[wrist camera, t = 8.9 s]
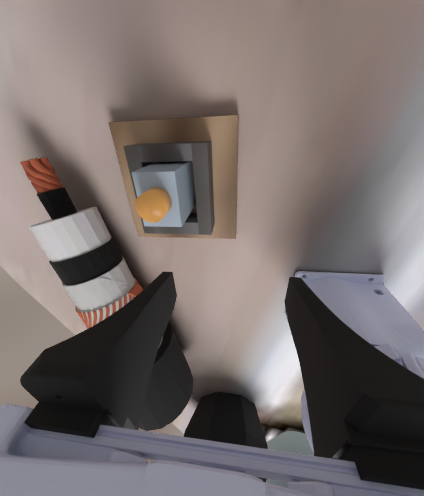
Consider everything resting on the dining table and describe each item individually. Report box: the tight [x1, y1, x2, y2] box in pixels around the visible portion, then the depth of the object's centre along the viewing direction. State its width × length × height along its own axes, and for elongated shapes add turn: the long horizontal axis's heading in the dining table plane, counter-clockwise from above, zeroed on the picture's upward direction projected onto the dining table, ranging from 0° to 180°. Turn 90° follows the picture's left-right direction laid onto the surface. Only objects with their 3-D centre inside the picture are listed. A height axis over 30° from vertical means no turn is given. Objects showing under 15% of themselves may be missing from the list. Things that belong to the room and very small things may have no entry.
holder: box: [109, 115, 239, 239], centre depth 19 cm, size 11×11×4 cm
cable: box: [20, 158, 193, 431], centre depth 25 cm, size 10×34×10 cm, turn 16°
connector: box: [132, 161, 196, 227], centre depth 16 cm, size 3×4×7 cm
